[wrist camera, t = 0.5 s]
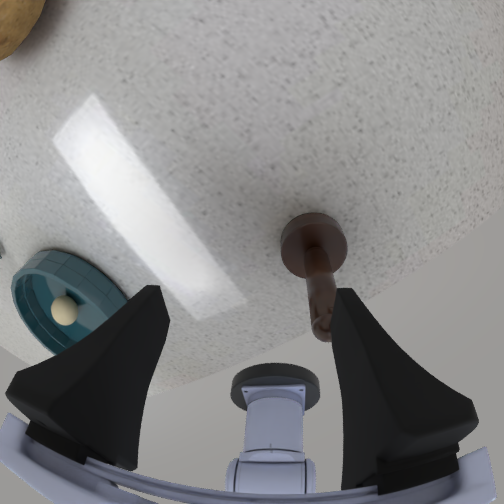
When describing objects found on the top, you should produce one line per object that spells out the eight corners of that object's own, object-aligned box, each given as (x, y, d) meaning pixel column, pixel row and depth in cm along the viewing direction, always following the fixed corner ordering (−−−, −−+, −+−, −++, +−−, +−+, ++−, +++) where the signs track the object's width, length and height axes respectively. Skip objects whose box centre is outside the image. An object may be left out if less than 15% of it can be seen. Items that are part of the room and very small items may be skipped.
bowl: (163, 360, 29) (154, 385, 26) (68, 348, 31) (57, 367, 28) (105, 240, 21) (84, 264, 18) (11, 253, 23) (-8, 271, 20)
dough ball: (87, 312, 25) (74, 332, 23) (68, 311, 25) (55, 330, 23) (74, 289, 23) (59, 309, 21) (56, 289, 24) (41, 308, 21)
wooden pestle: (342, 265, 20) (368, 360, 13) (283, 269, 21) (284, 368, 14) (343, 210, 18) (384, 297, 11) (278, 214, 19) (278, 306, 11)
